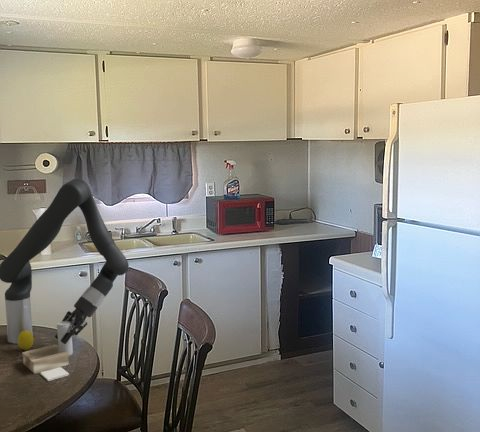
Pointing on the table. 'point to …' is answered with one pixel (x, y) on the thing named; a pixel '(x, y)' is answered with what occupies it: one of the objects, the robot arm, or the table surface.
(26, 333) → the lemon
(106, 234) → the robot arm
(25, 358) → the lane rack
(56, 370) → the tile
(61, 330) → the beverage can
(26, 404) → the table surface
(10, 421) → the table surface
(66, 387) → the table surface
